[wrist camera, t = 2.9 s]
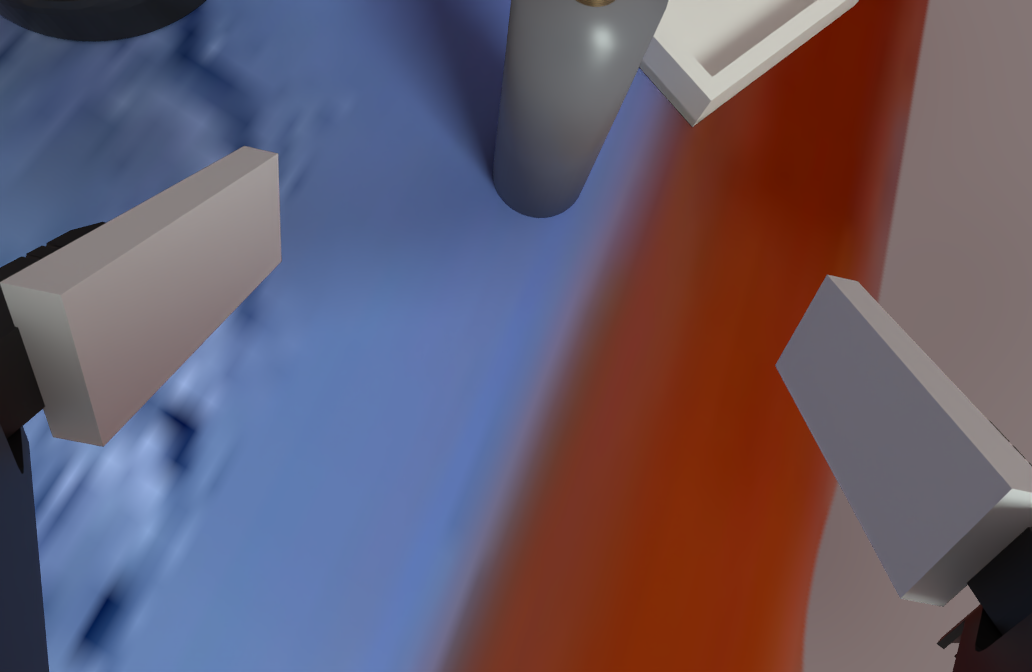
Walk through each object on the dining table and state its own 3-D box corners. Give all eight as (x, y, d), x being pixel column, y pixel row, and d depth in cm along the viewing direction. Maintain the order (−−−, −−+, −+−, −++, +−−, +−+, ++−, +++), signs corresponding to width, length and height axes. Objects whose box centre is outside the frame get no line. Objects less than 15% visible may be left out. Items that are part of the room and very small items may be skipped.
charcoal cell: (473, 165, 31) (483, -62, 17) (544, 116, 32) (607, -137, 18) (532, 235, 30) (589, 60, 16) (602, 183, 31) (711, -23, 17)
